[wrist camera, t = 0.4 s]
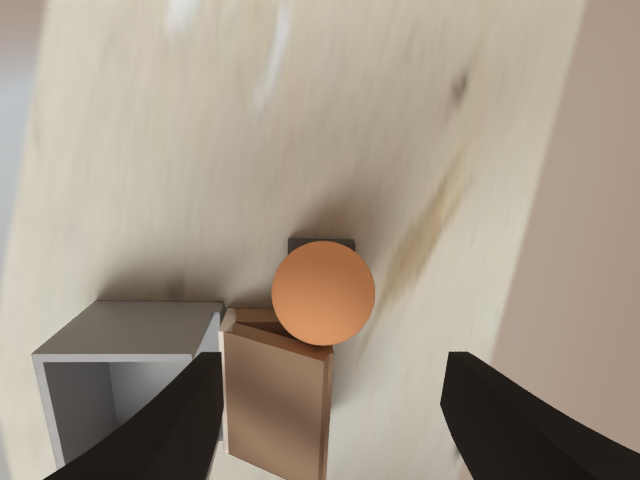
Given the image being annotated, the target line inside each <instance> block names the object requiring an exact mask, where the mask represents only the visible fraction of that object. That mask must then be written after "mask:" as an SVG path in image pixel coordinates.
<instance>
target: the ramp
mask: <svg viewBox="0 0 640 480" xmlns="http://www.w3.org/2000/svg"><path fill="white" fill-rule="evenodd" d="M218 337H219V352H222V373H223V394H224V410H223V415H222V420H223V440H224V454H230V455H233V456H235V457H237V458H239V459H241V460H244V461H246V462H248V463H250V464H253V465H255V466H257V467H259V468H261V469H264V470H266V471H268V472H270V473H272V474H275V475H277V476H279V477H281V478H284V479H286V480H326V472H327V455H328V438H329V422H330V405H331V388H332V371H333V354H334V353H333V347H332V345H324V346H322V345H313V344H309V343H306V342H303V341H301V340H299V339H297V338H296V337H294V336H293V335H292V334H290V333H289V332H288V331H287V330H286V329H285V328H284V327H283V325H282V324H281V322H280V321H279V319H278V317H277V316H276V313H275V310H274V309H250V308H228V309H227V311H226V314H225V316H224V318H223V321H222V323H221V326H220V328H219V331H218Z"/></svg>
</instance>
